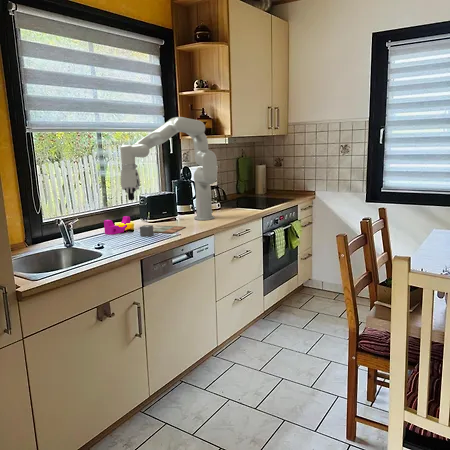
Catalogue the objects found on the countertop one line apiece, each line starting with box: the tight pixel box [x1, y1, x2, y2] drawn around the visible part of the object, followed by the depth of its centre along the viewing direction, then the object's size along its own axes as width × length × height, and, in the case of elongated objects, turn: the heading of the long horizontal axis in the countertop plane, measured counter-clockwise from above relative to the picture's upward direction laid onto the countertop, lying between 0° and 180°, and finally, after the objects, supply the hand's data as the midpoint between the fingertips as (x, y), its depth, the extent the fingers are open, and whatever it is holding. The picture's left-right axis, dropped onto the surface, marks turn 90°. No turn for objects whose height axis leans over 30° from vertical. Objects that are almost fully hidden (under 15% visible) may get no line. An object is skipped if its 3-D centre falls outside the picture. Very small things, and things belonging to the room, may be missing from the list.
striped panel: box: [153, 225, 187, 235], centre depth 235 cm, size 17×18×1 cm
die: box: [139, 224, 155, 238], centre depth 223 cm, size 5×5×5 cm
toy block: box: [103, 215, 131, 236], centre depth 235 cm, size 15×6×8 cm, turn 141°
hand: (131, 199), depth 239 cm, fingers closed
